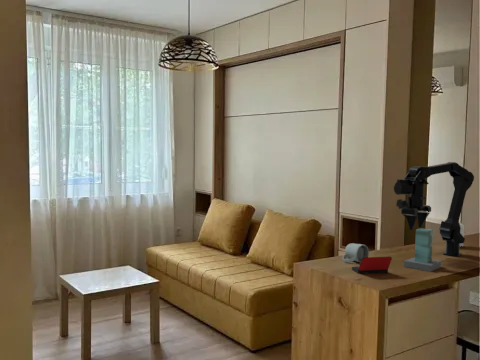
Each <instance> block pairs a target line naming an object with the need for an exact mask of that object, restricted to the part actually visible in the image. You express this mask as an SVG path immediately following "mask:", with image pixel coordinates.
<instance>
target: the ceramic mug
mask: <svg viewBox="0 0 480 360" xmlns="http://www.w3.org/2000/svg"><path fill="white" fill-rule="evenodd" d="M369 256H370V250H369V248H368V246H367V245H366V244H361V243H354V242H352V243H348V244H347V245H346V246H345V249H344V255H342V261H343V262H344V263H347V264H348V263H353V262H358V263H360V262H361V259H362V258H365V257H369Z"/></svg>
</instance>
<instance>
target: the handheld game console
mask: <svg viewBox="0 0 480 360" xmlns="http://www.w3.org/2000/svg"><path fill="white" fill-rule="evenodd" d="M392 259H393V257H392V256H374V257H373V256H372V257H371V256H370V257H369V256H368V257H365V258H362V259H361V262H359V266H352V267H351V270H352V271H354V272H356V274H359V275H360V274H361V275H362V274H364V275H365V274H386V273H387V274H388V272H389V267H390V265H391V263H392V261H393V260H392Z"/></svg>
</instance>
